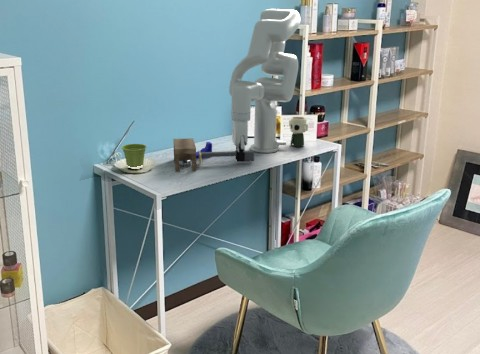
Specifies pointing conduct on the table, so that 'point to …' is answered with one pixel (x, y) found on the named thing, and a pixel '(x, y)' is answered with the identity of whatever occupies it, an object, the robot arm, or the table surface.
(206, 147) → the blue shoe
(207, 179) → the table surface
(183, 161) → the steel token
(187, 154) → the brown block with legs
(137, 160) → the plant pot
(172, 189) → the table surface
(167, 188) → the table surface
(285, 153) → the table surface
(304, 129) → the character mug
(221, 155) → the scraper
